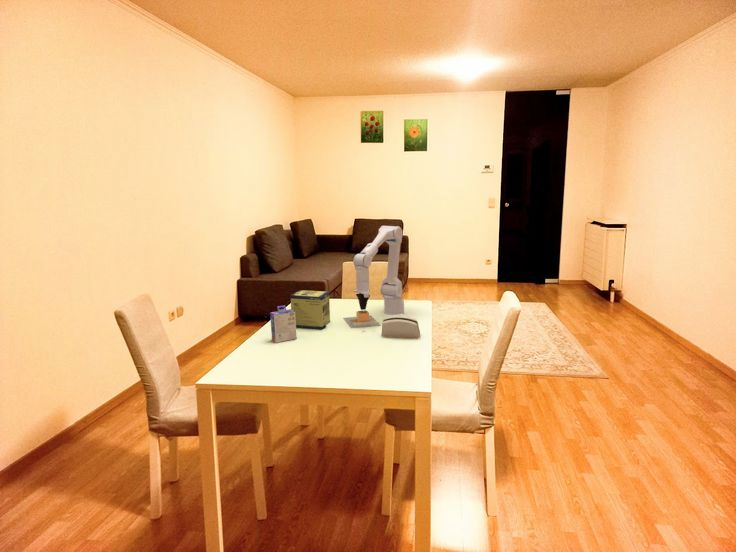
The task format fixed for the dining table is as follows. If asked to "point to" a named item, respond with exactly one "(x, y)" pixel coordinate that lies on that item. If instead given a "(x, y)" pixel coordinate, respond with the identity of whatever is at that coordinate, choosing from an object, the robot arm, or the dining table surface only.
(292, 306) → the protein box
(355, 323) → the rail
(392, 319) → the beige rounded block
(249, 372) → the dining table surface
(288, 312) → the ink cartridge box
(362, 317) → the module
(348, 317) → the mount board
